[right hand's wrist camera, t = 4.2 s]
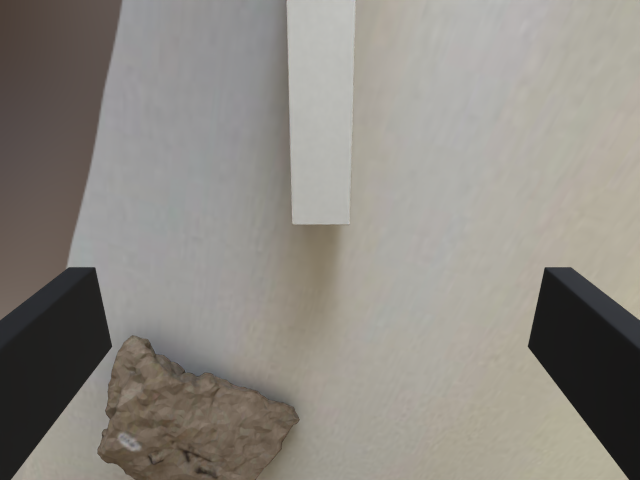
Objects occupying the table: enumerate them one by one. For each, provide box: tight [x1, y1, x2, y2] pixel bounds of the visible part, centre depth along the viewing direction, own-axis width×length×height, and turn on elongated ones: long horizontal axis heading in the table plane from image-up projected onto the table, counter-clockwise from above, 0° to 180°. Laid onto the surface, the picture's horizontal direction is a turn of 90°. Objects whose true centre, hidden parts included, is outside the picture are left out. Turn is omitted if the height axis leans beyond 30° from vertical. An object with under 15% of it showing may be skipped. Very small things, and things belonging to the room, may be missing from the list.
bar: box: [286, 0, 356, 225], centre depth 33 cm, size 22×4×8 cm, turn 0°
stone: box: [98, 336, 300, 480], centre depth 47 cm, size 21×15×6 cm
